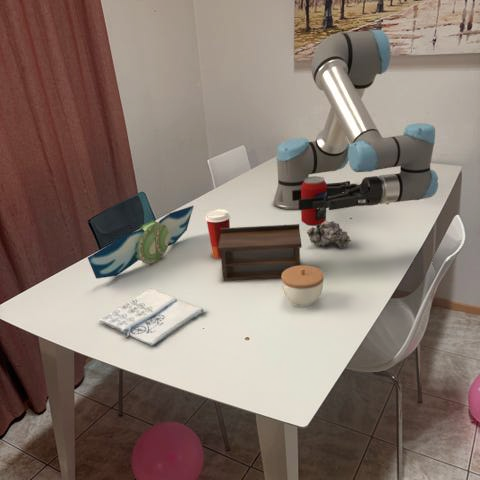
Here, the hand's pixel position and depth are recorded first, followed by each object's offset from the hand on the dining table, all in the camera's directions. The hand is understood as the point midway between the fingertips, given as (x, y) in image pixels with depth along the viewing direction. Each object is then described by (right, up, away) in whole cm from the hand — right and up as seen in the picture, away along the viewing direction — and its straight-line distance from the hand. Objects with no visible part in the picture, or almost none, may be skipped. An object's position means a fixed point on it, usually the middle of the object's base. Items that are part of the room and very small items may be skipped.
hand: (295, 200), depth 124 cm
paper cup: (-21, -11, +25) cm, 34 cm away
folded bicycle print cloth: (-38, -32, -4) cm, 50 cm away
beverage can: (+6, -5, +4) cm, 9 cm away
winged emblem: (-43, -13, +25) cm, 51 cm away
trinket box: (+2, -27, -2) cm, 27 cm away
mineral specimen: (+14, -9, +24) cm, 29 cm away
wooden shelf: (-9, -18, +13) cm, 24 cm away
